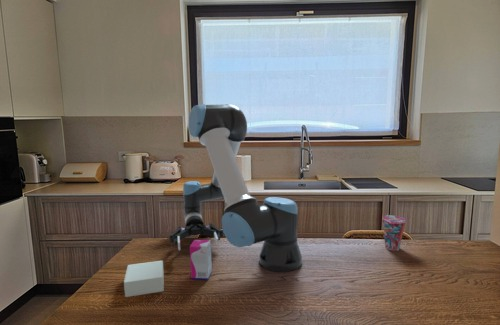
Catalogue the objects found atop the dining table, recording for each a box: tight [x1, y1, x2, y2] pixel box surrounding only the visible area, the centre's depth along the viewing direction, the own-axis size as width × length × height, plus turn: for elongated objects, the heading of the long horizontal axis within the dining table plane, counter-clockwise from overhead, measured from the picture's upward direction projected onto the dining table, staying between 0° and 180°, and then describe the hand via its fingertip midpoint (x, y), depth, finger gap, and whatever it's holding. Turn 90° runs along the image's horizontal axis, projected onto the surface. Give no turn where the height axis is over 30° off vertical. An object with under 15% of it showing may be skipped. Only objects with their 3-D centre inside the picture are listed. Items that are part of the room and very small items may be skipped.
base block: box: [123, 260, 165, 298], centre depth 100 cm, size 11×11×5 cm
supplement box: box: [189, 239, 213, 281], centre depth 105 cm, size 6×6×12 cm
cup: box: [382, 214, 407, 252], centre depth 122 cm, size 9×8×12 cm
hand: (198, 244), depth 114 cm, fingers open, 13 cm apart
